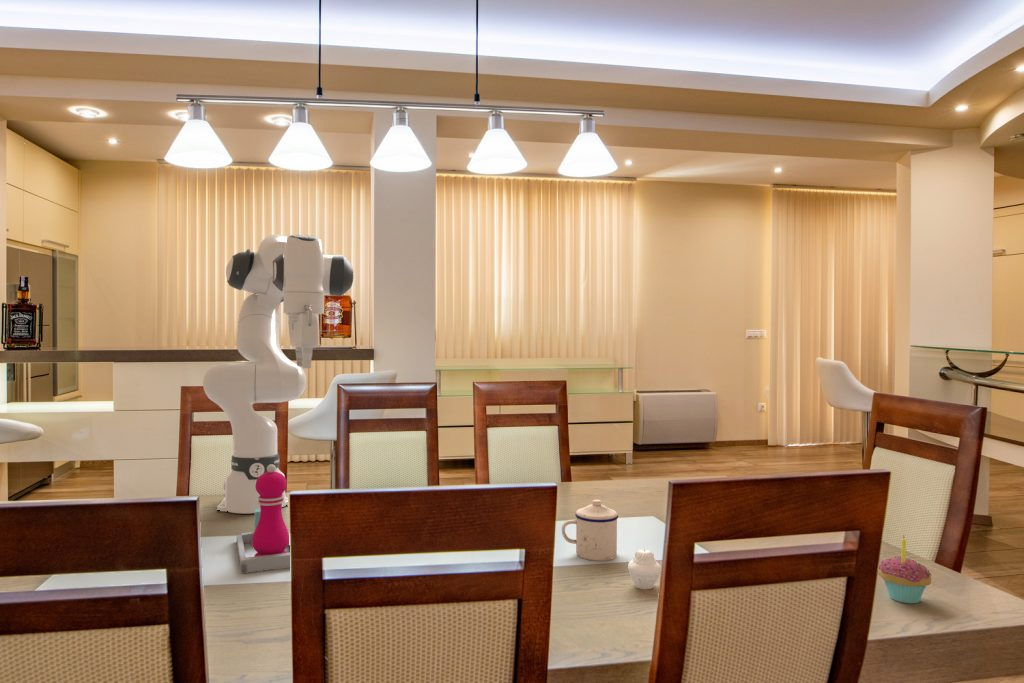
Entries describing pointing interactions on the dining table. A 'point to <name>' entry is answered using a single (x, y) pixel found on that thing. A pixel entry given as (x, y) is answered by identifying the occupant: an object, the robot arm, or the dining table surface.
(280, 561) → the grey rectangular frame
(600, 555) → the teacup with lid
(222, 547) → the dining table surface
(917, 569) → the cupcake
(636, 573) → the small white lidded pot
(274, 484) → the pepper mill
